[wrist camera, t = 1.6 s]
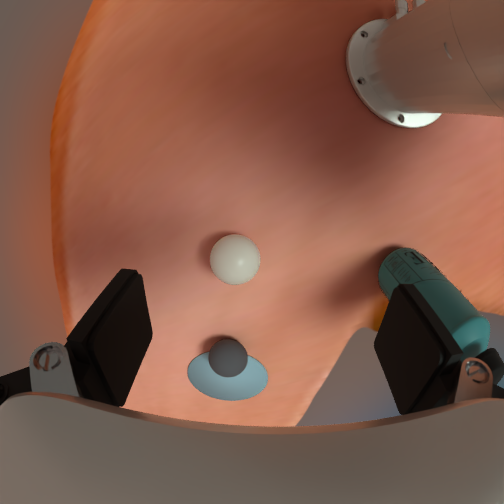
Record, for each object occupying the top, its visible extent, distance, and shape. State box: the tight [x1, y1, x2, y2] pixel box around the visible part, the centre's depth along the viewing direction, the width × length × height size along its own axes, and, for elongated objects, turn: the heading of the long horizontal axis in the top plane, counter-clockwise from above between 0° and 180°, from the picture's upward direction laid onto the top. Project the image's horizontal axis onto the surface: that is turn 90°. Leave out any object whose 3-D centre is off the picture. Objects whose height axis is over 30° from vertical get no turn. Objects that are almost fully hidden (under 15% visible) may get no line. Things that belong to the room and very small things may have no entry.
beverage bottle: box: [378, 248, 504, 385], centre depth 21 cm, size 6×7×20 cm
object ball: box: [208, 339, 248, 377], centre depth 34 cm, size 5×5×5 cm
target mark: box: [188, 352, 268, 401], centre depth 39 cm, size 12×12×1 cm
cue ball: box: [210, 234, 260, 285], centre depth 28 cm, size 5×5×5 cm
